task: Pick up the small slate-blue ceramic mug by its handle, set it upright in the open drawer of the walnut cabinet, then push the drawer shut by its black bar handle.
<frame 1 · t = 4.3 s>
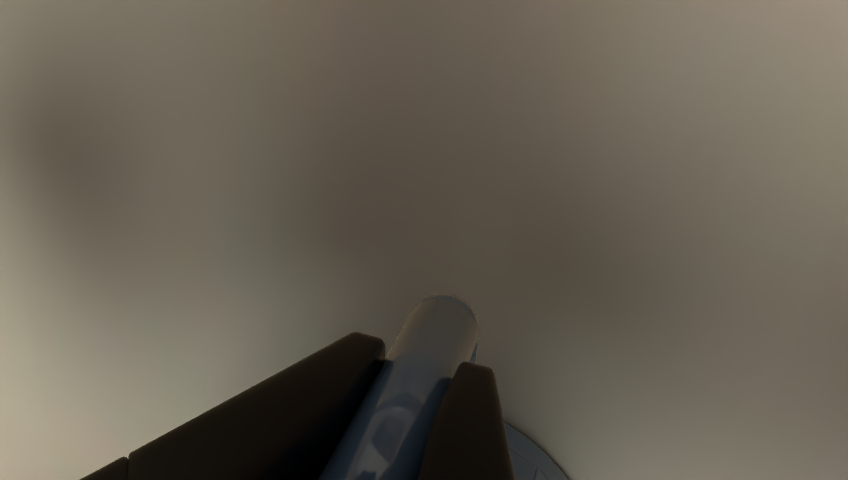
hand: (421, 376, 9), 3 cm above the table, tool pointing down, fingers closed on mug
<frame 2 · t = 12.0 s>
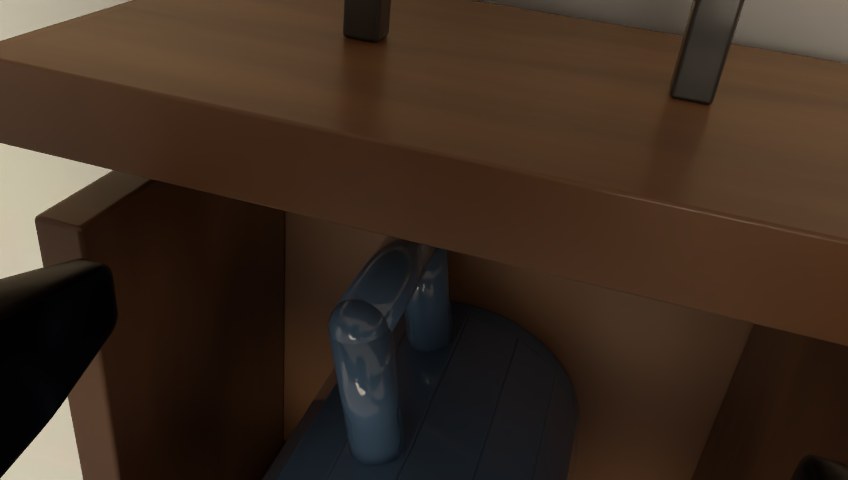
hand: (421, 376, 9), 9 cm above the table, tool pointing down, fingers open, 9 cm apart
drawer: (481, 298, 13), point 5 cm above the table, slide at 11.1 cm, touching mug
mug: (457, 403, 18), point 2 cm above the table, touching drawer
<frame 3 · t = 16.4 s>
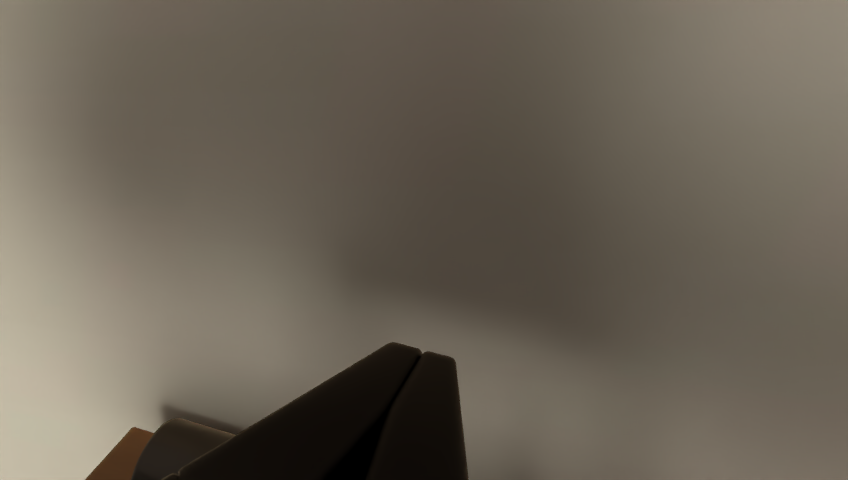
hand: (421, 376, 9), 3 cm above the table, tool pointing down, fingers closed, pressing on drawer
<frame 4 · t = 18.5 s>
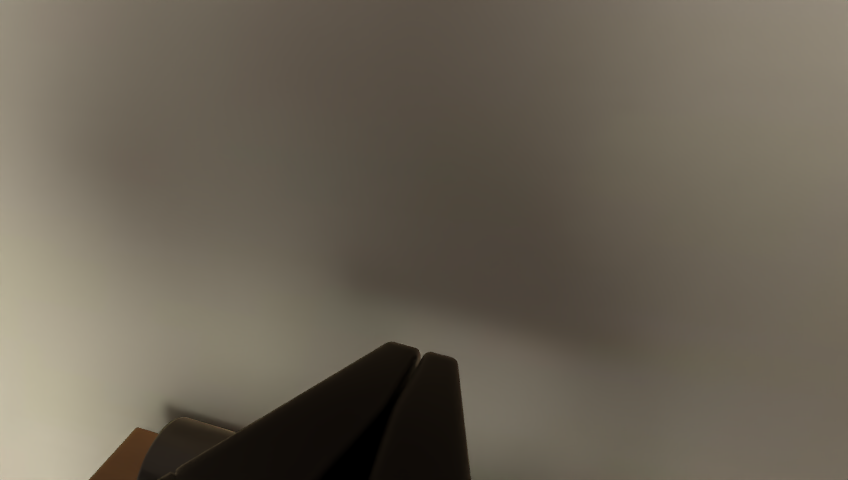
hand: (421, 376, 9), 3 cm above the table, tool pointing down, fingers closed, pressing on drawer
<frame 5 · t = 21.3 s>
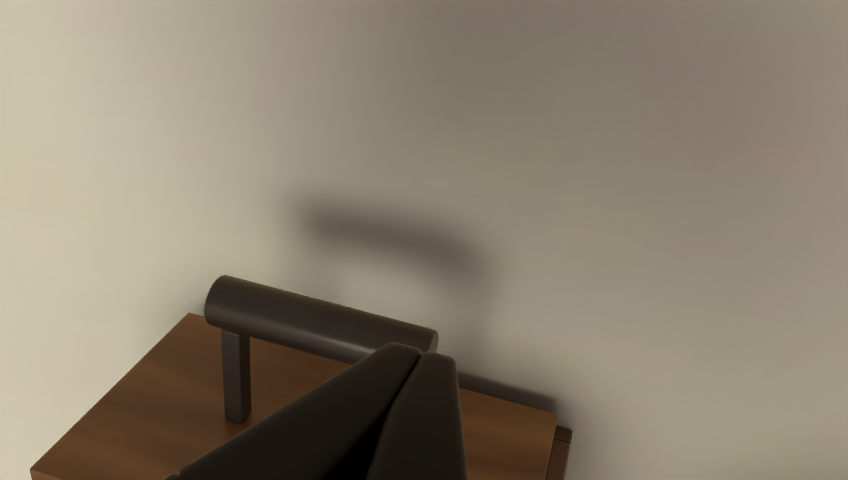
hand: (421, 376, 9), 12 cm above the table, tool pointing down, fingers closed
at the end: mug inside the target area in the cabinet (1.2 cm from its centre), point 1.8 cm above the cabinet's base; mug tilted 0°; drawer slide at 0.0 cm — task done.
